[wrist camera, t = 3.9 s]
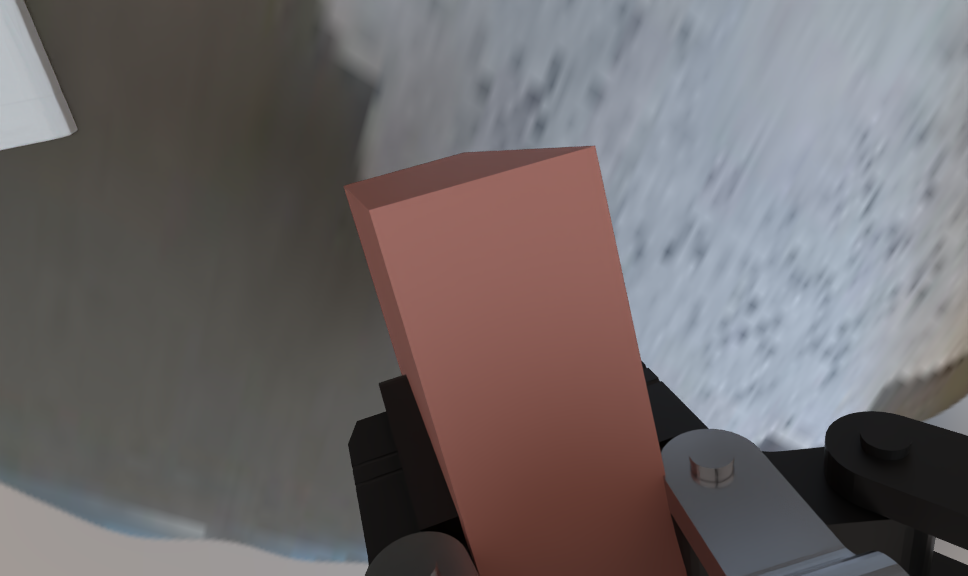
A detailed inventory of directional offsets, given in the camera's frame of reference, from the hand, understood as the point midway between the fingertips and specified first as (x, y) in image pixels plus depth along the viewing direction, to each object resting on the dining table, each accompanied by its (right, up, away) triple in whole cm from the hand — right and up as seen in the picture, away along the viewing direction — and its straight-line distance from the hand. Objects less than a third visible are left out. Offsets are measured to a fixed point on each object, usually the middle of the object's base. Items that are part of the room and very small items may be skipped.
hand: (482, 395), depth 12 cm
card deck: (0, 0, +2) cm, 2 cm away
